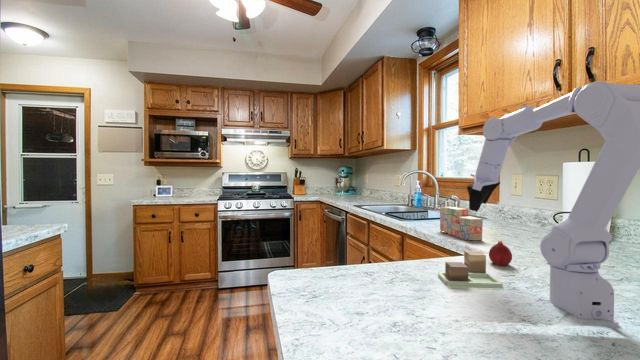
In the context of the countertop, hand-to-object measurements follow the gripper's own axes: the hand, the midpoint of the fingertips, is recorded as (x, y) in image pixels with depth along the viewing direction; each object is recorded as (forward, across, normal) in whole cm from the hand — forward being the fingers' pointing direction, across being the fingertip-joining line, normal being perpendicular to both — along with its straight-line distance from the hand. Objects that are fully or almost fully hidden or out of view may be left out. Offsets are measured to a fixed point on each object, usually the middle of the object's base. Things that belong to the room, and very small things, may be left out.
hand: (477, 206), depth 84 cm
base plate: (+13, +20, +7) cm, 24 cm away
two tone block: (+15, +10, +6) cm, 19 cm away
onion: (+17, -1, +10) cm, 20 cm away
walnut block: (+12, +21, +5) cm, 25 cm away
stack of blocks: (+33, -39, -11) cm, 52 cm away
